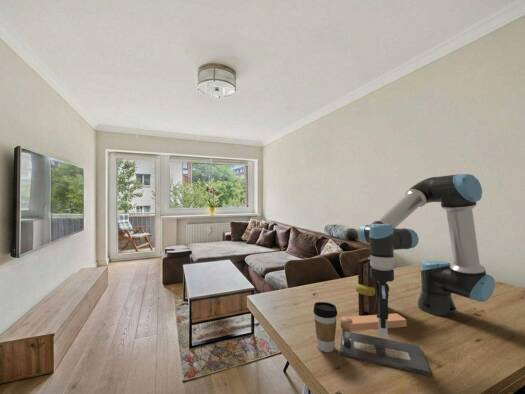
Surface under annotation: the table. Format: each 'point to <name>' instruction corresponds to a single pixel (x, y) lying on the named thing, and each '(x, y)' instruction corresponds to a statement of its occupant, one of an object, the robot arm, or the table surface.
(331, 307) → the coffee cup
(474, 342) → the table surface
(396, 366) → the plate
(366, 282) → the book
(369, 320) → the cable arm
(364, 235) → the robot arm
